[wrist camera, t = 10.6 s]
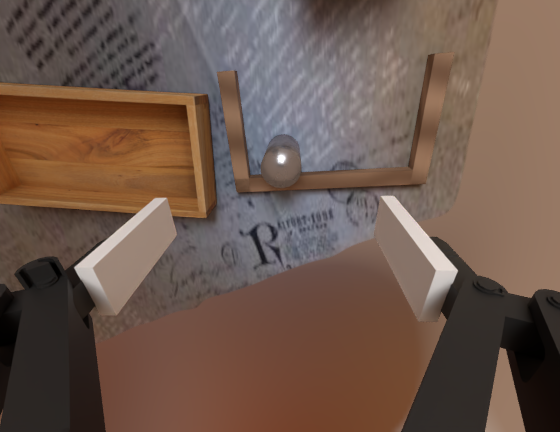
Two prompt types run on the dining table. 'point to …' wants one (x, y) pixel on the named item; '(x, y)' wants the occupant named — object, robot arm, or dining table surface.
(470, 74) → the dining table surface
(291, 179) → the steel part
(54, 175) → the tray
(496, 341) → the robot arm
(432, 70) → the bay
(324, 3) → the dining table surface
